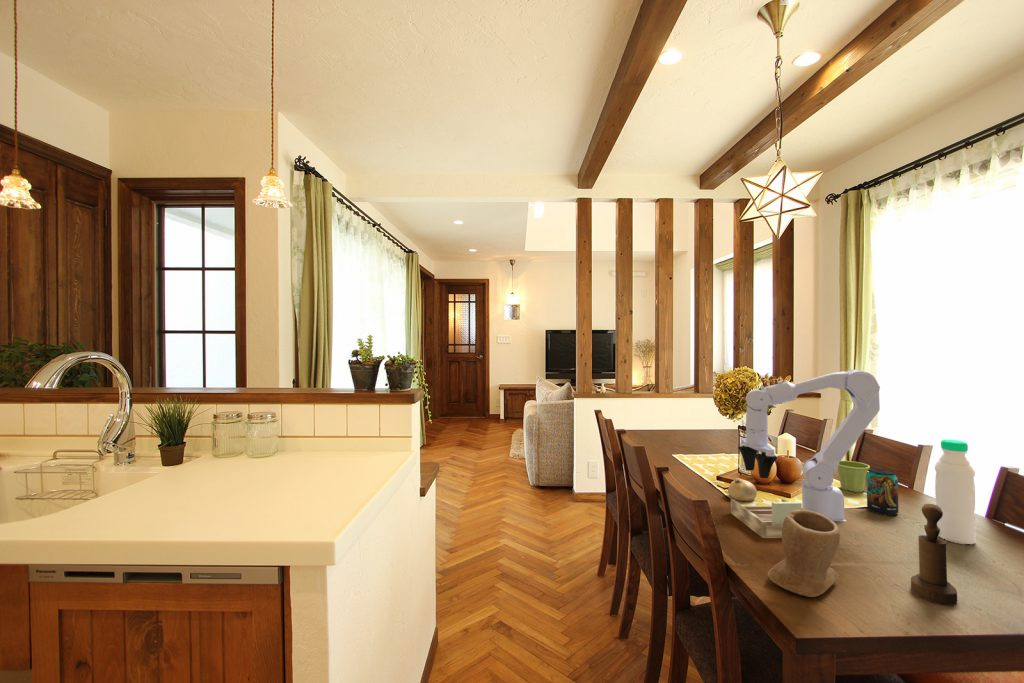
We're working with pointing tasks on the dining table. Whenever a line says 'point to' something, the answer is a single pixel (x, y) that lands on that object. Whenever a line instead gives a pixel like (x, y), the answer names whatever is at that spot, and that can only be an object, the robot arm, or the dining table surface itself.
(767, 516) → the offcut upper
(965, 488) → the white bottle
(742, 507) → the rack
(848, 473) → the plant pot
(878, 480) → the printed food package
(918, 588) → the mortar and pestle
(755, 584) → the dining table surface
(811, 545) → the stone cup
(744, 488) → the onion
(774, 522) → the panel
